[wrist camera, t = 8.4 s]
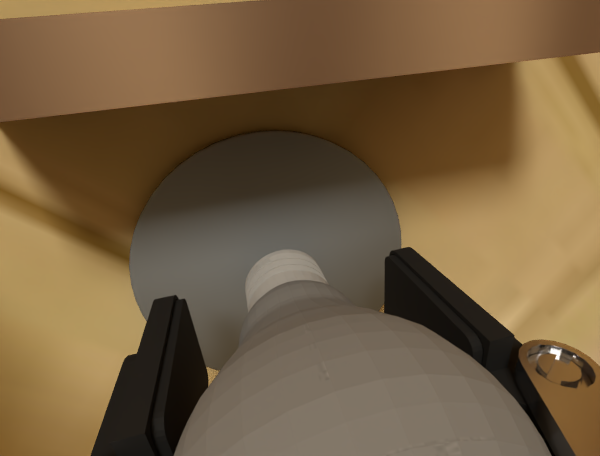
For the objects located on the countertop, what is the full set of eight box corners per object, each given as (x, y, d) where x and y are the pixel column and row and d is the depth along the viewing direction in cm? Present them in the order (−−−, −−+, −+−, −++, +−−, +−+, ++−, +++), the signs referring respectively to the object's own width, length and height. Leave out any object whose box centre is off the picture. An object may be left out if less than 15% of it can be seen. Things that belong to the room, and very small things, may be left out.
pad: (399, 112, 11) (404, 113, 11) (394, 336, 16) (398, 342, 15) (87, 154, 10) (82, 156, 10) (174, 391, 14) (173, 400, 14)
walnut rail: (512, 9, 11) (655, -29, 7) (506, 60, 12) (634, 48, 8) (-37, 57, 8) (-228, 35, 5) (-8, 119, 9) (-158, 140, 5)
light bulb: (305, 157, 10) (917, 665, 1) (387, 282, 13) (777, 735, 4) (151, 269, 11) (-233, 1325, 2) (262, 369, 13) (357, 973, 4)
